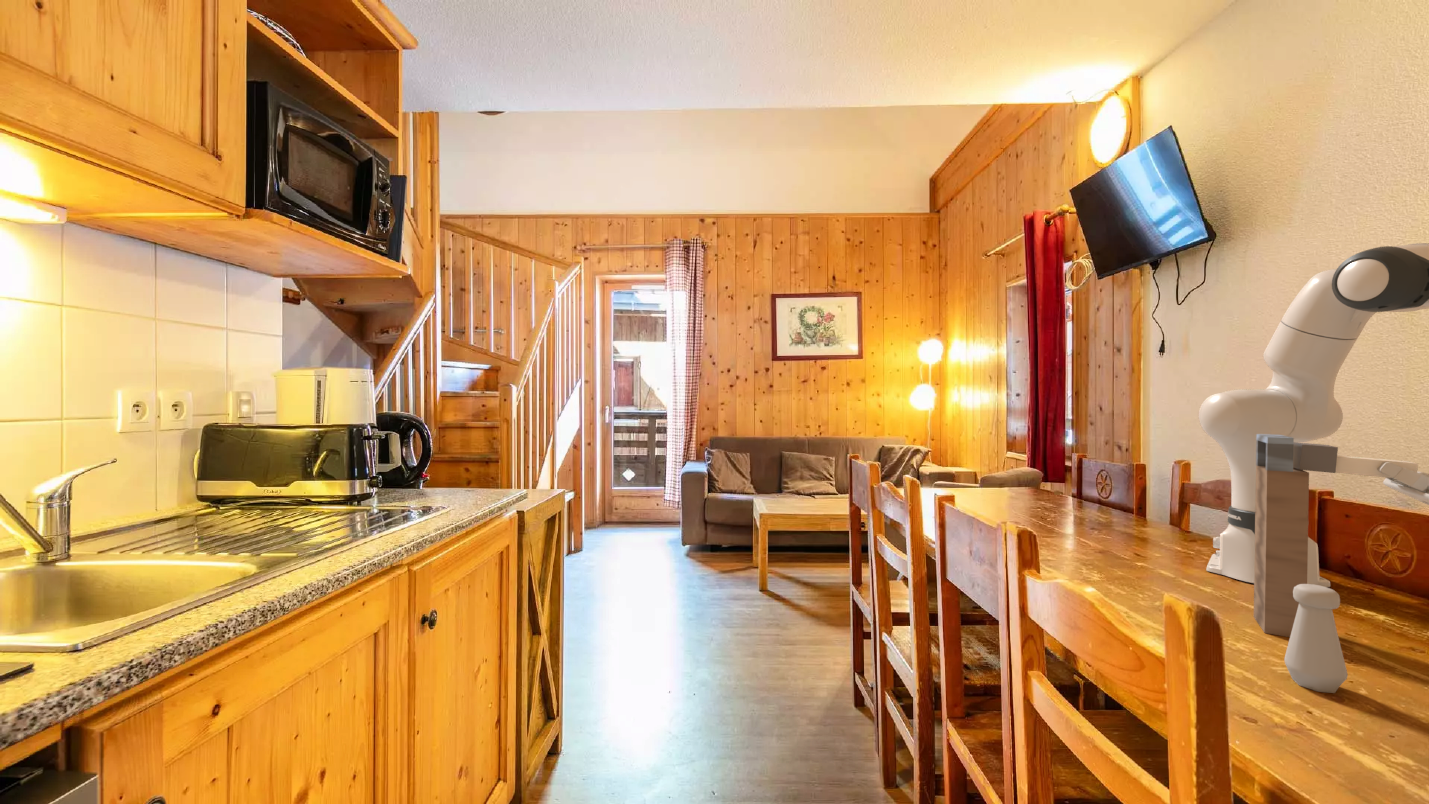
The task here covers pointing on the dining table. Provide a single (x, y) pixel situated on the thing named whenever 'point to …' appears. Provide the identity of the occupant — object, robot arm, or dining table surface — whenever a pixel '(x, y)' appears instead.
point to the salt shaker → (1315, 640)
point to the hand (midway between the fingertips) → (1375, 464)
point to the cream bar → (1339, 461)
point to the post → (1279, 533)
